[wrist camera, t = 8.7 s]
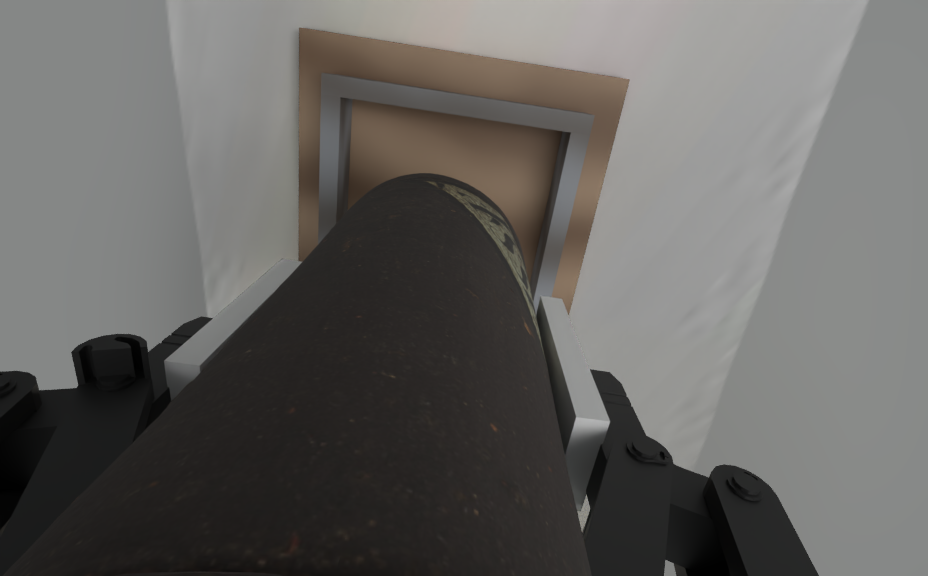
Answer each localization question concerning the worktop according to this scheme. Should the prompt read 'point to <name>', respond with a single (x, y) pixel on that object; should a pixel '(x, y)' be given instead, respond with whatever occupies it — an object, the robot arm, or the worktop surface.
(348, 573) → the container
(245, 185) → the worktop surface
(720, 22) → the worktop surface
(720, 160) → the worktop surface
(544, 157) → the collar stand
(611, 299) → the worktop surface
